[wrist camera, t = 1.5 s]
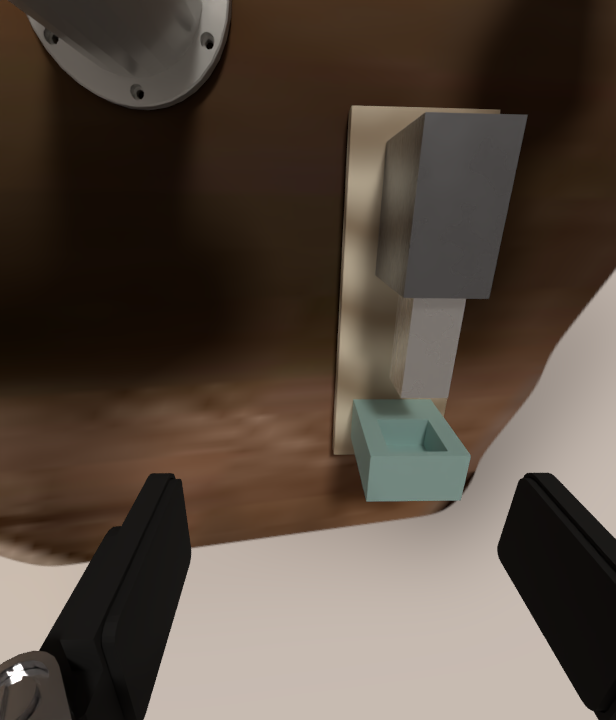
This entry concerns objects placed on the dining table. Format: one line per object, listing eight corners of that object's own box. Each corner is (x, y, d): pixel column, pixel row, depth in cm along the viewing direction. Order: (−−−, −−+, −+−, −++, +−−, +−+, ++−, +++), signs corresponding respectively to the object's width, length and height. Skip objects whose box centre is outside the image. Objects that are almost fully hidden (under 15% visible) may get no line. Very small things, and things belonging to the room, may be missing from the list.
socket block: (353, 399, 32) (370, 456, 25) (430, 399, 32) (470, 455, 25) (350, 436, 34) (366, 501, 26) (424, 436, 34) (460, 500, 27)
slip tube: (417, 130, 21) (437, 116, 18) (471, 131, 21) (499, 118, 18) (389, 377, 27) (400, 398, 24) (431, 377, 27) (447, 397, 24)
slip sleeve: (386, 141, 25) (425, 112, 17) (458, 143, 25) (527, 114, 17) (375, 275, 28) (403, 298, 21) (438, 275, 28) (488, 298, 21)
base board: (349, 111, 25) (352, 105, 24) (489, 115, 25) (500, 109, 24) (332, 445, 36) (333, 454, 34) (431, 444, 36) (436, 453, 35)
